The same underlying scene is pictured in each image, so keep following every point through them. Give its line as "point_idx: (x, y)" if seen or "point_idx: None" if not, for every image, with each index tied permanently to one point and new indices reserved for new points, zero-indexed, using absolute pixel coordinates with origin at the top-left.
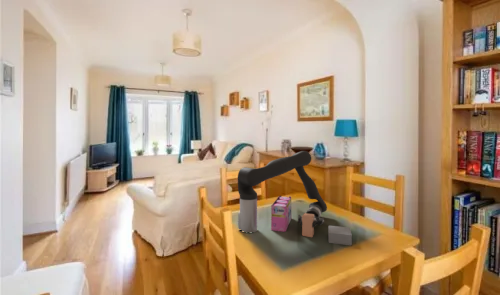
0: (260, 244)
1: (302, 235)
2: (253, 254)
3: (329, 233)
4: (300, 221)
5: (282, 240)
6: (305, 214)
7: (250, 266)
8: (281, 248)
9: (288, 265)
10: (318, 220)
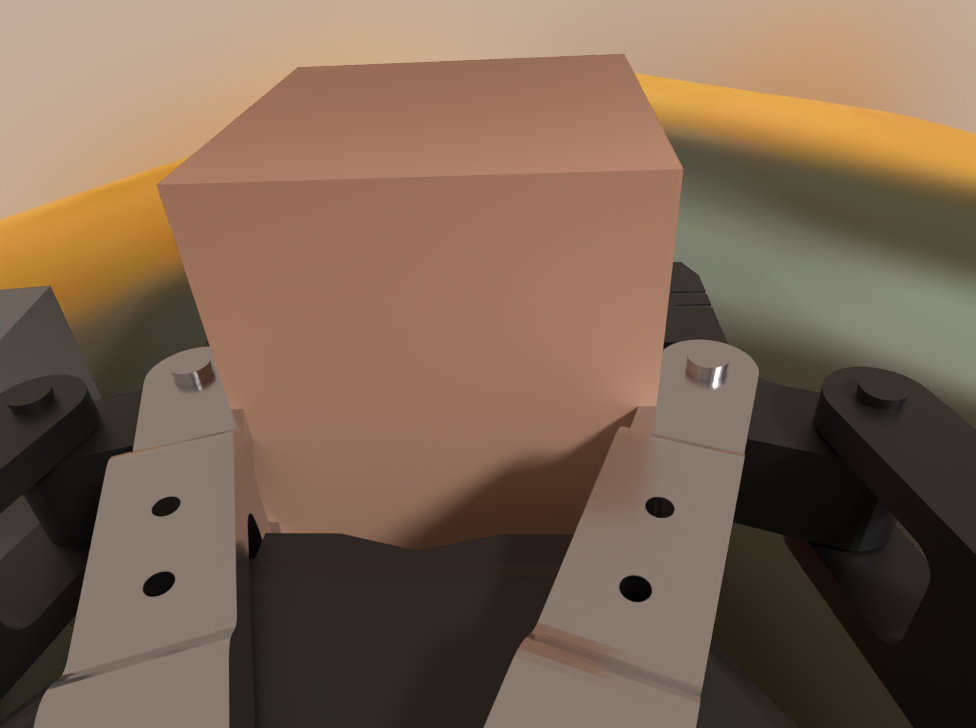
0: (925, 202)
1: None
2: (821, 131)
3: (40, 300)
4: (685, 278)
5: (794, 305)
6: (567, 114)
7: (729, 90)
8: (686, 209)
9: None
10: (64, 399)
